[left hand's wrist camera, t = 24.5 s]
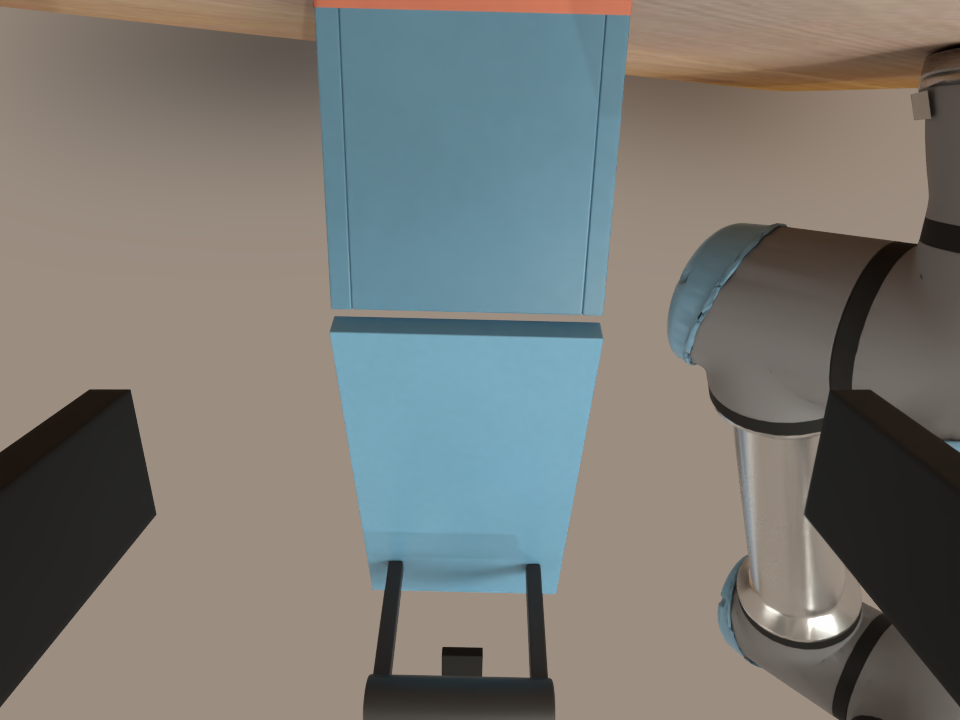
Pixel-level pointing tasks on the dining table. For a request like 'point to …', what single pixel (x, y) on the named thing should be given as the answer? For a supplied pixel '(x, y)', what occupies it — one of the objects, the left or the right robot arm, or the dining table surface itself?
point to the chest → (470, 151)
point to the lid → (464, 482)
